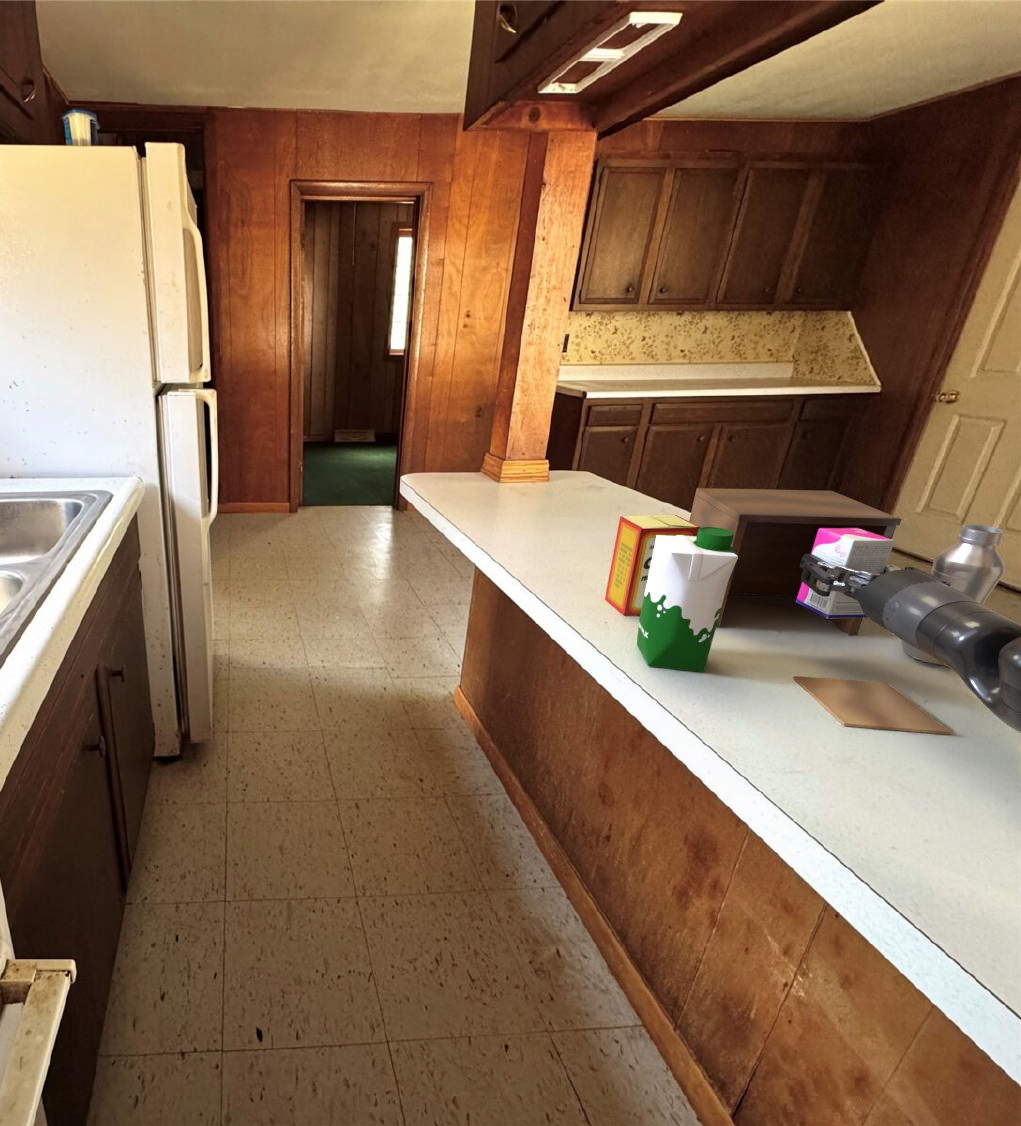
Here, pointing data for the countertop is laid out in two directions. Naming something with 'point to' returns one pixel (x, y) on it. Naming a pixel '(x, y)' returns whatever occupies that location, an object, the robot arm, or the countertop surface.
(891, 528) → the cupboard
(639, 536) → the baking soda box
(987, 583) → the silver metal bottle
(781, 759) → the countertop surface
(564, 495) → the countertop surface
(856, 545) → the supplement box
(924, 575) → the robot arm
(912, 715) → the cork mat
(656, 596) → the milk carton
